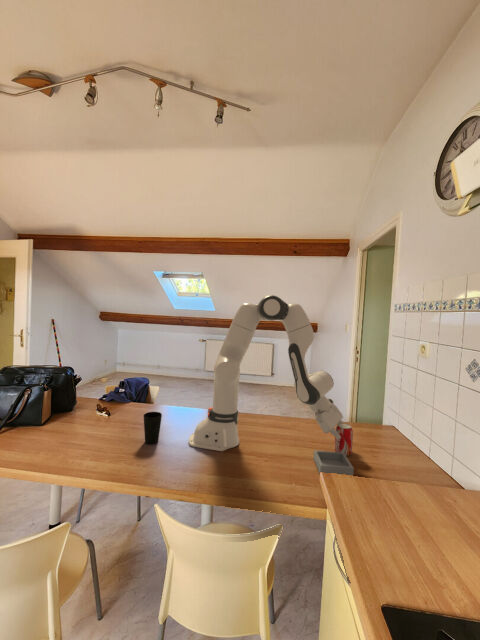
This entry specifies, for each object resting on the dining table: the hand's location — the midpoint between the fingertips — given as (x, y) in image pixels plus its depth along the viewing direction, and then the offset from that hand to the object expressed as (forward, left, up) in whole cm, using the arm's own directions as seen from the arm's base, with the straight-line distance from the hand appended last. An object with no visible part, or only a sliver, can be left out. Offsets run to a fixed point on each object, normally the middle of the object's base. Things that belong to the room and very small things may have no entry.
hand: (342, 434), depth 126 cm
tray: (-8, -13, -8) cm, 17 cm away
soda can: (0, 0, -8) cm, 8 cm away
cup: (-83, -2, -8) cm, 83 cm away
